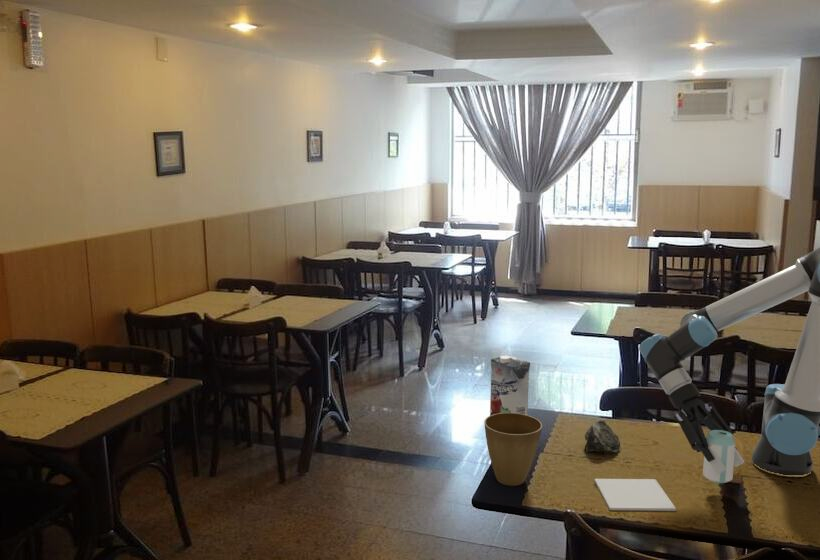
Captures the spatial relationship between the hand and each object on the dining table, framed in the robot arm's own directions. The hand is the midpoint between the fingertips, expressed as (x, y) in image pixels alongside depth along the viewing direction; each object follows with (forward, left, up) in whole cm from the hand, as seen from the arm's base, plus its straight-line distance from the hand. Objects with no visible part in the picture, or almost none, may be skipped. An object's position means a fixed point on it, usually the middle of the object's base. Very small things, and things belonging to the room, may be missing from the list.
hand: (731, 468), depth 190 cm
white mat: (+24, -1, -8) cm, 25 cm away
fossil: (+25, -29, -8) cm, 39 cm away
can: (+2, -3, -4) cm, 6 cm away
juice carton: (+52, -33, -8) cm, 62 cm away
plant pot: (+54, -9, -8) cm, 55 cm away
